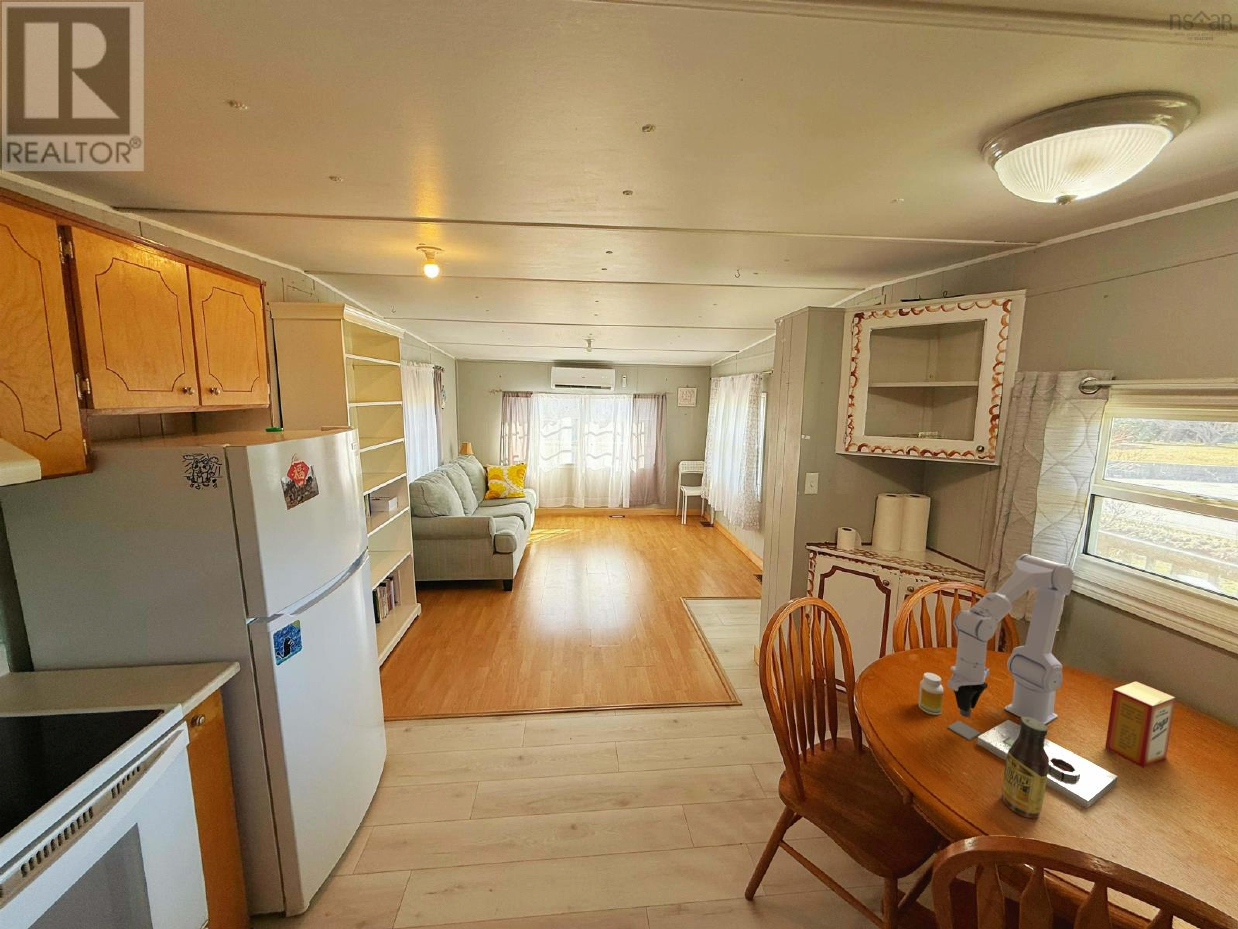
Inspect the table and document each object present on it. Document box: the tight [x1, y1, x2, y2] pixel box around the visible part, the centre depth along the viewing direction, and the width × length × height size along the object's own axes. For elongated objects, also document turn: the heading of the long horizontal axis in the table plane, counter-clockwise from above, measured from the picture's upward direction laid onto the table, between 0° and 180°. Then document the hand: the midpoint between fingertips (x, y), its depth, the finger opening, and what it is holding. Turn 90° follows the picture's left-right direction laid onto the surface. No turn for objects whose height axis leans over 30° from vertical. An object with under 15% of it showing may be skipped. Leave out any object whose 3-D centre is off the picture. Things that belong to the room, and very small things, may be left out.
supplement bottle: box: [917, 672, 944, 716], centre depth 123 cm, size 5×5×10 cm
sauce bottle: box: [1001, 717, 1049, 819], centre depth 92 cm, size 7×6×20 cm
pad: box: [1005, 739, 1015, 746], centre depth 108 cm, size 2×2×2 cm
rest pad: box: [947, 720, 982, 741], centre depth 115 cm, size 5×5×1 cm
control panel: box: [976, 719, 1118, 809], centre depth 104 cm, size 14×20×3 cm
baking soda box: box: [1105, 681, 1177, 769], centre depth 106 cm, size 10×6×16 cm
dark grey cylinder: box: [959, 685, 972, 718], centre depth 114 cm, size 2×2×8 cm
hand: (966, 707), depth 114 cm, fingers closed on dark grey cylinder, 2 cm apart
